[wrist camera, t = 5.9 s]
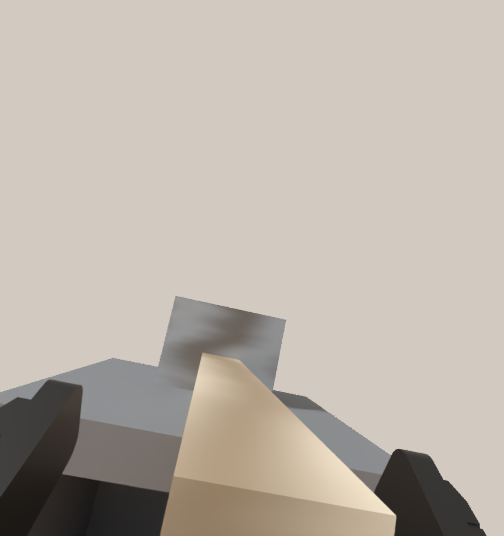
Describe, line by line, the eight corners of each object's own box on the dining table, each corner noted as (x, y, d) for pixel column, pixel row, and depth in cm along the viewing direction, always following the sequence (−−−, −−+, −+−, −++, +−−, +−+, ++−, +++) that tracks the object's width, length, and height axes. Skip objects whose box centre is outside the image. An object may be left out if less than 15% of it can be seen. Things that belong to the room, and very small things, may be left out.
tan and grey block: (-187, 726, 3) (20, 137, 4) (164, 372, 31) (181, 302, 32) (599, 818, 4) (613, 281, 5) (258, 391, 31) (271, 321, 33)
